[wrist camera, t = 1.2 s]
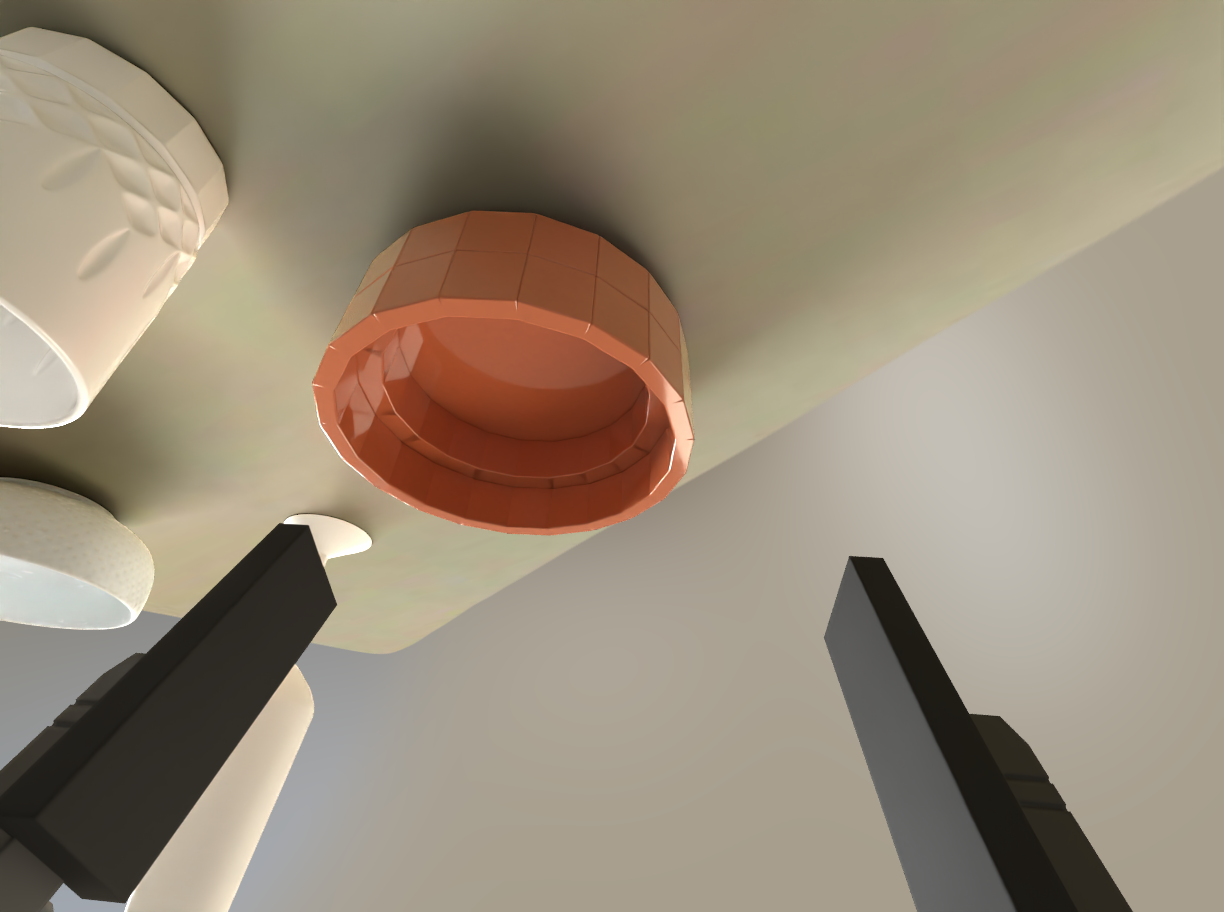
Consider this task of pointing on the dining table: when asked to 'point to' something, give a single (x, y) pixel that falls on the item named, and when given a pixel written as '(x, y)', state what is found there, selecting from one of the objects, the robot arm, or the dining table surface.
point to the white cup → (89, 217)
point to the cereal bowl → (67, 560)
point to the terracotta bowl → (510, 377)
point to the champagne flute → (241, 782)
